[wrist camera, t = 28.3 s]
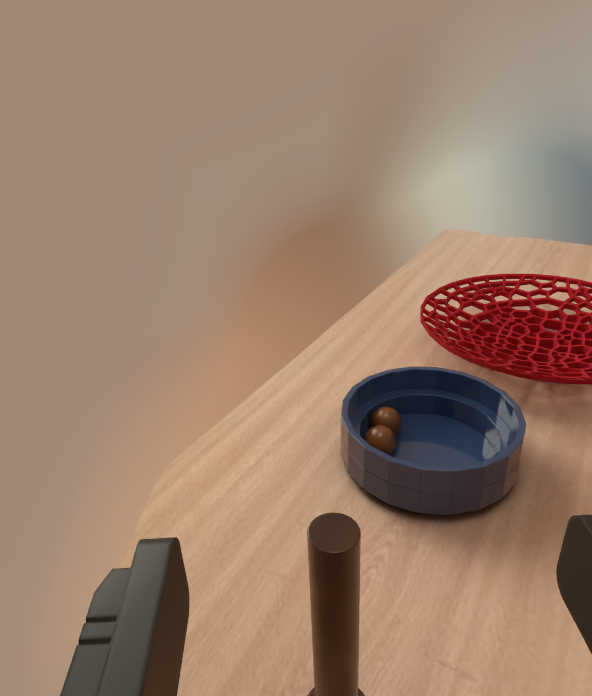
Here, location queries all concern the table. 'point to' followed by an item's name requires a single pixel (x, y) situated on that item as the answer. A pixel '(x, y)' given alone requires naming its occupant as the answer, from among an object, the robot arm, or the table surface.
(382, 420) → the hazelnut
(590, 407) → the table surface
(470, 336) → the bowl
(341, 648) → the capped post on base
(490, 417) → the blue bowl
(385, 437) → the hazelnut
